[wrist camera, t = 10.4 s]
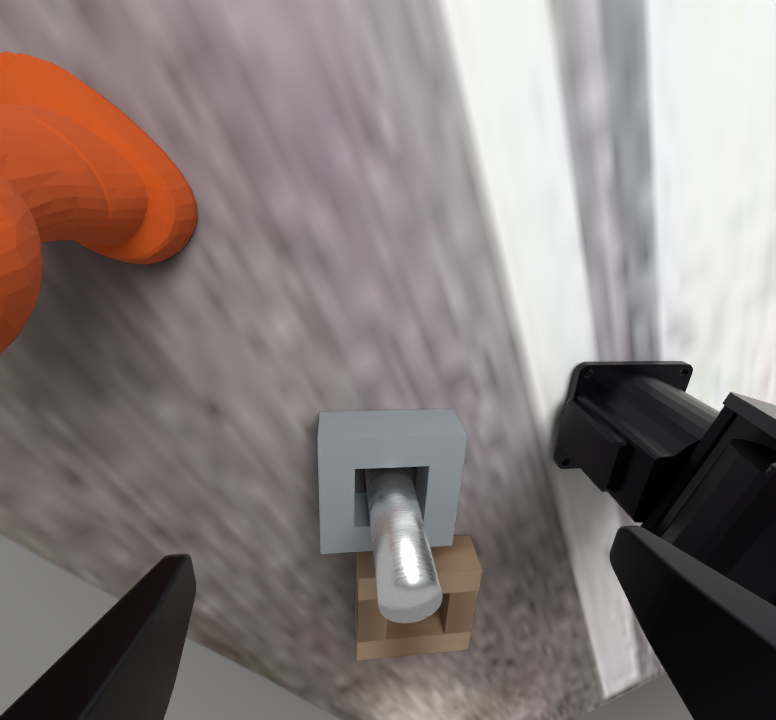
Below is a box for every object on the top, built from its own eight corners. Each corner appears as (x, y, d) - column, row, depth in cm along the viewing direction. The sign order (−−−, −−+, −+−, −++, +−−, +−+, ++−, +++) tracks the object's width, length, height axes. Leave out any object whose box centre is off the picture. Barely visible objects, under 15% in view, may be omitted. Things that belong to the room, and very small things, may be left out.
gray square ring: (453, 408, 21) (467, 435, 19) (440, 511, 24) (452, 545, 22) (319, 411, 20) (317, 439, 18) (322, 518, 23) (320, 554, 21)
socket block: (469, 534, 25) (482, 569, 23) (456, 611, 28) (467, 649, 25) (356, 542, 24) (358, 578, 22) (355, 620, 27) (356, 660, 24)
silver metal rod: (408, 446, 22) (445, 575, 14) (406, 482, 23) (439, 620, 15) (364, 448, 22) (379, 580, 14) (363, 484, 22) (377, 625, 15)
